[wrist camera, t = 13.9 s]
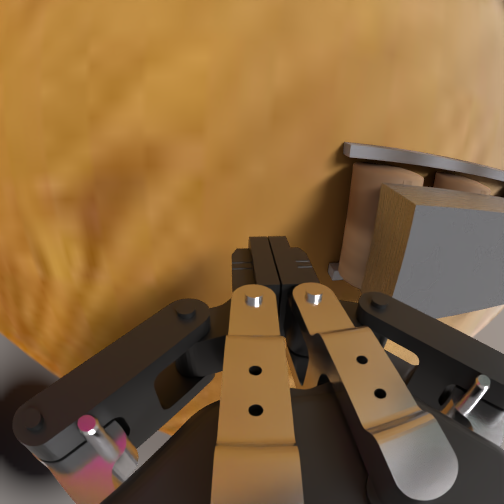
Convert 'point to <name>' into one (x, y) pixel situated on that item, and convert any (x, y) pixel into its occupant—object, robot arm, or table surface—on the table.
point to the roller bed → (368, 192)
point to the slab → (437, 249)
